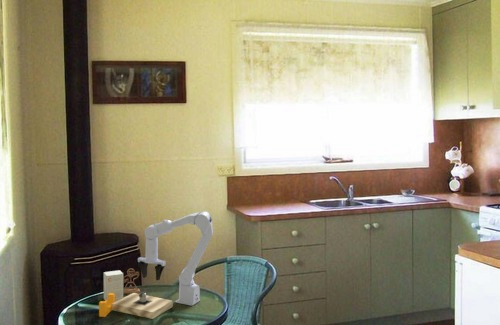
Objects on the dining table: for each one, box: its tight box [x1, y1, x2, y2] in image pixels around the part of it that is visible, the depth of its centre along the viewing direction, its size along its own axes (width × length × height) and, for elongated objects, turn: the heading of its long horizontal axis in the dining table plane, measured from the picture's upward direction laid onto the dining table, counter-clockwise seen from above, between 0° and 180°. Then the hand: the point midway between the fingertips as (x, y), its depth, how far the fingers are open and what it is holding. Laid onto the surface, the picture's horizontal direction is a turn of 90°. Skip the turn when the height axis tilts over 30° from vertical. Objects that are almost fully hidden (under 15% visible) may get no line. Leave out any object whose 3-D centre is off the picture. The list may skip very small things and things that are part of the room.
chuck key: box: [138, 290, 147, 304], centre depth 233 cm, size 3×6×7 cm, turn 160°
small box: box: [103, 269, 124, 302], centre depth 243 cm, size 8×6×13 cm
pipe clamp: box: [98, 293, 116, 318], centre depth 229 cm, size 12×4×6 cm, turn 174°
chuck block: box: [111, 293, 174, 320], centre depth 233 cm, size 22×16×3 cm
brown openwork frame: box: [123, 268, 141, 295], centre depth 254 cm, size 9×4×12 cm, turn 104°
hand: (151, 278), depth 244 cm, fingers open, 7 cm apart
